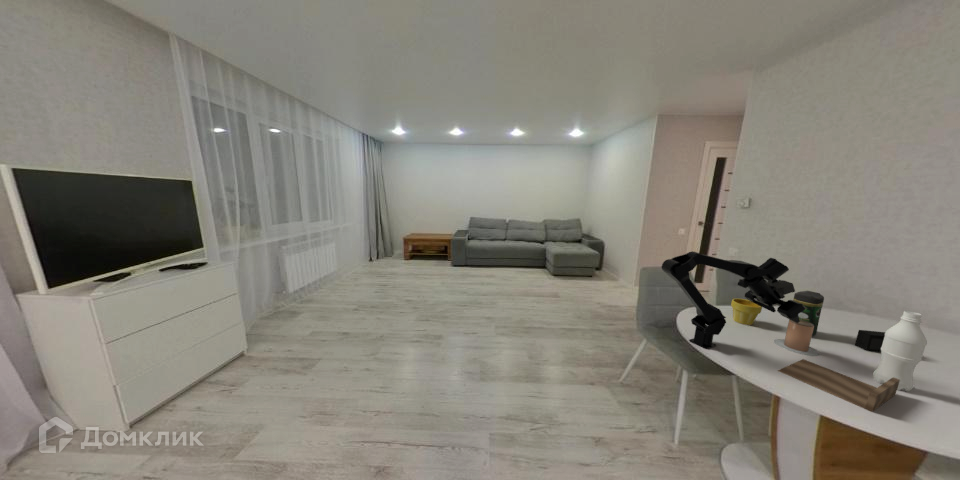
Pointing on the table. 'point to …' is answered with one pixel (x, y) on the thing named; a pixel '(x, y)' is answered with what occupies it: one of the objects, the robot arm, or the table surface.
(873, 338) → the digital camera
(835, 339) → the table surface
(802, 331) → the terracotta pot
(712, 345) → the robot arm
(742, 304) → the plant pot
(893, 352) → the water bottle
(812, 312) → the coffee jar
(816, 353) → the ceramic saucer
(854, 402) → the wooden bookend
